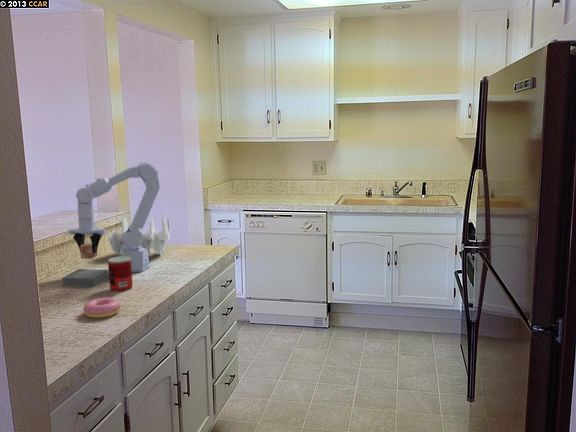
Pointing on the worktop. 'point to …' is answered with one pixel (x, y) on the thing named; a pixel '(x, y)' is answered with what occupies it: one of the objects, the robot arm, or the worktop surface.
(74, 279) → the charcoal stand
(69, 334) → the worktop surface
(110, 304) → the doughnut
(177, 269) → the worktop surface
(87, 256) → the terracotta block
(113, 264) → the canned food
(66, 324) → the worktop surface
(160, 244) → the white irregular piece
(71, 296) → the worktop surface
